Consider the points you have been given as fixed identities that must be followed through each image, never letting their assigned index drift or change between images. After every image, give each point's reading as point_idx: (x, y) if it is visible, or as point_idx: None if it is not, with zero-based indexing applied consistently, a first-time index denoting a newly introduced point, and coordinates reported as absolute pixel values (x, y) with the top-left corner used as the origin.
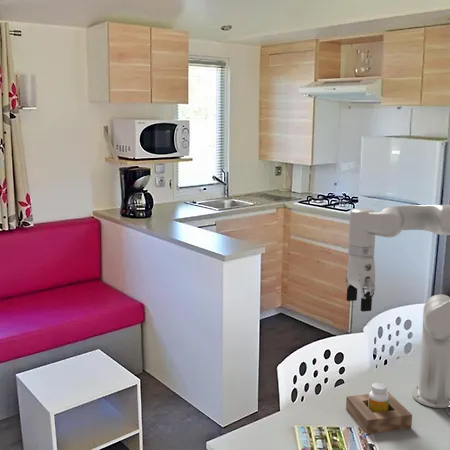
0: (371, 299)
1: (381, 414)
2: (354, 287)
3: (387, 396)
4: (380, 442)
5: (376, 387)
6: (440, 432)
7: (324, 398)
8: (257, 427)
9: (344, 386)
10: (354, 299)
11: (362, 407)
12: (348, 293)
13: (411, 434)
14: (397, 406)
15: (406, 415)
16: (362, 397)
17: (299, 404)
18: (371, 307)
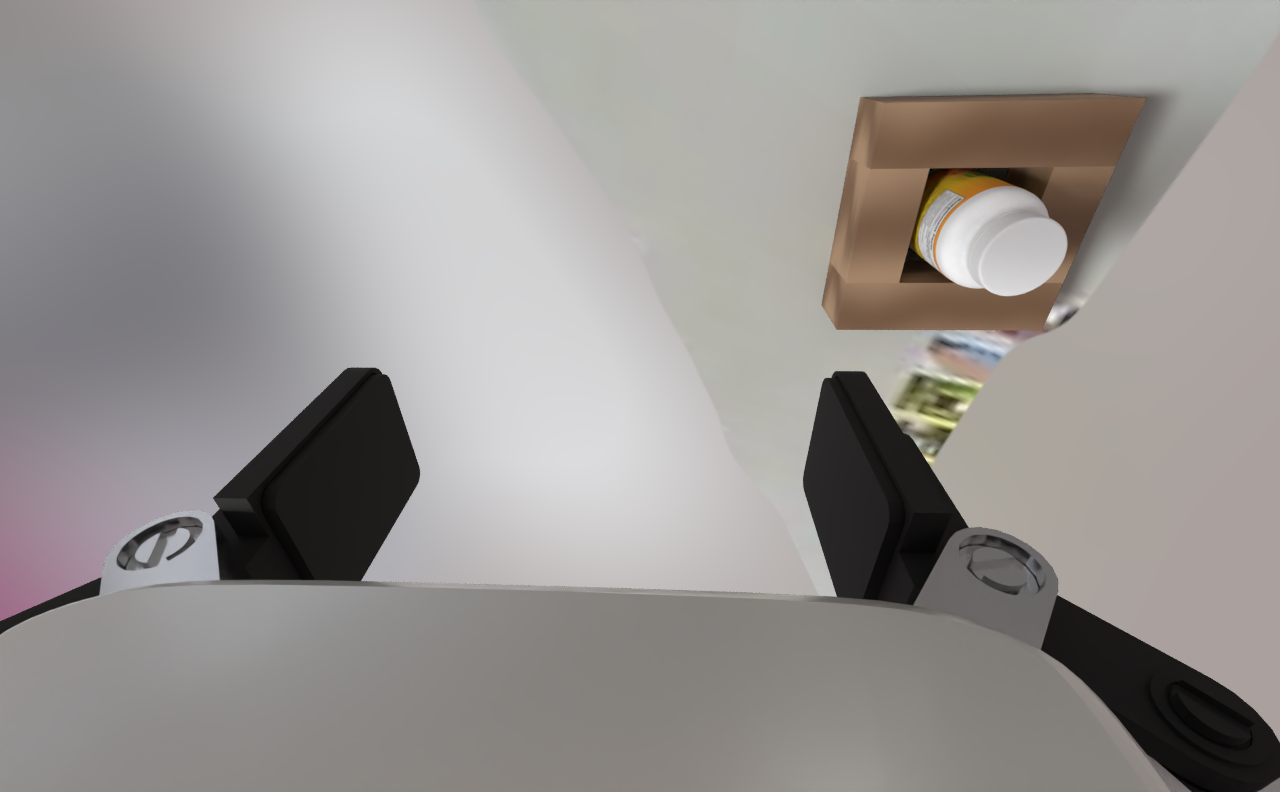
0: (932, 494)
1: None
2: (261, 557)
3: (1046, 213)
4: (1081, 280)
5: (1028, 282)
6: None
7: (716, 348)
8: (813, 557)
9: (639, 230)
10: (390, 407)
11: (948, 305)
12: (372, 554)
13: None
14: (1035, 135)
15: (1129, 135)
16: (873, 267)
17: (732, 436)
18: (876, 392)
